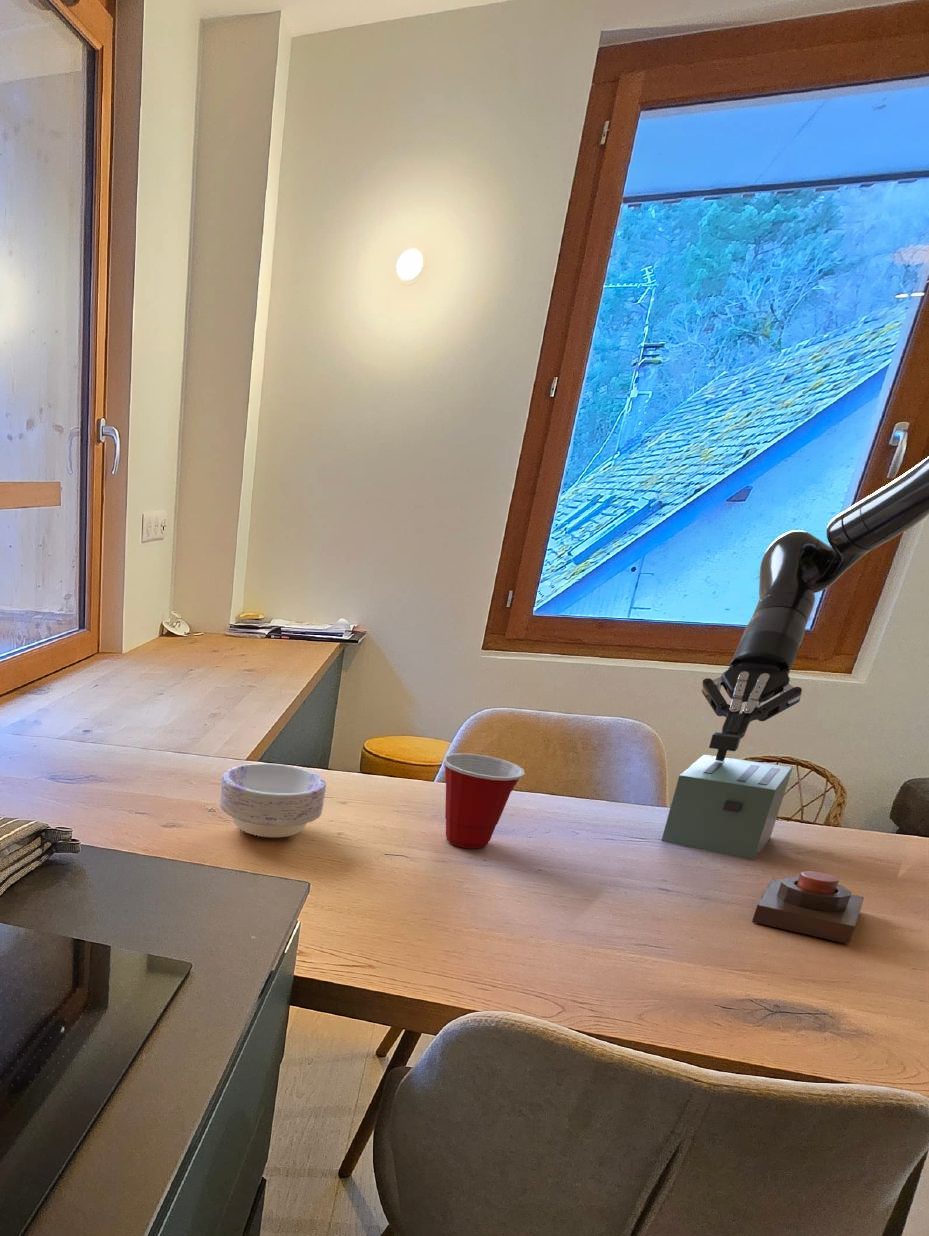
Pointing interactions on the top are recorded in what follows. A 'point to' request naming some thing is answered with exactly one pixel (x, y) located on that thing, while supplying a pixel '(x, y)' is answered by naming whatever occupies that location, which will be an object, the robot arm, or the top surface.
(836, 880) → the button
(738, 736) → the toaster slider
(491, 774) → the plastic cup
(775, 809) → the toaster
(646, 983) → the top surface
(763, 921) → the box
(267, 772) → the paper bowls
